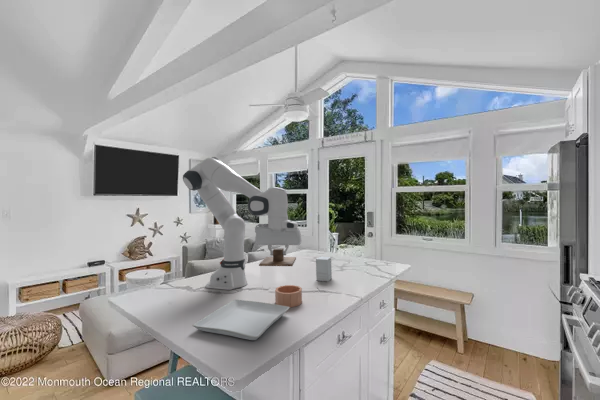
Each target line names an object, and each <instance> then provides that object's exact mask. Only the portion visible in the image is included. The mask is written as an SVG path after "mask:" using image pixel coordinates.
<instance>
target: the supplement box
mask: <svg viewBox="0 0 600 400" xmlns="http://www.w3.org/2000/svg"><path fill="white" fill-rule="evenodd" d="M332 274H333V272H332V257H330V256H319V257H317V258H315V276H316V277H315V278H316V281H321V282H329V281H330V280H331V279H333V276H332Z"/></svg>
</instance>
